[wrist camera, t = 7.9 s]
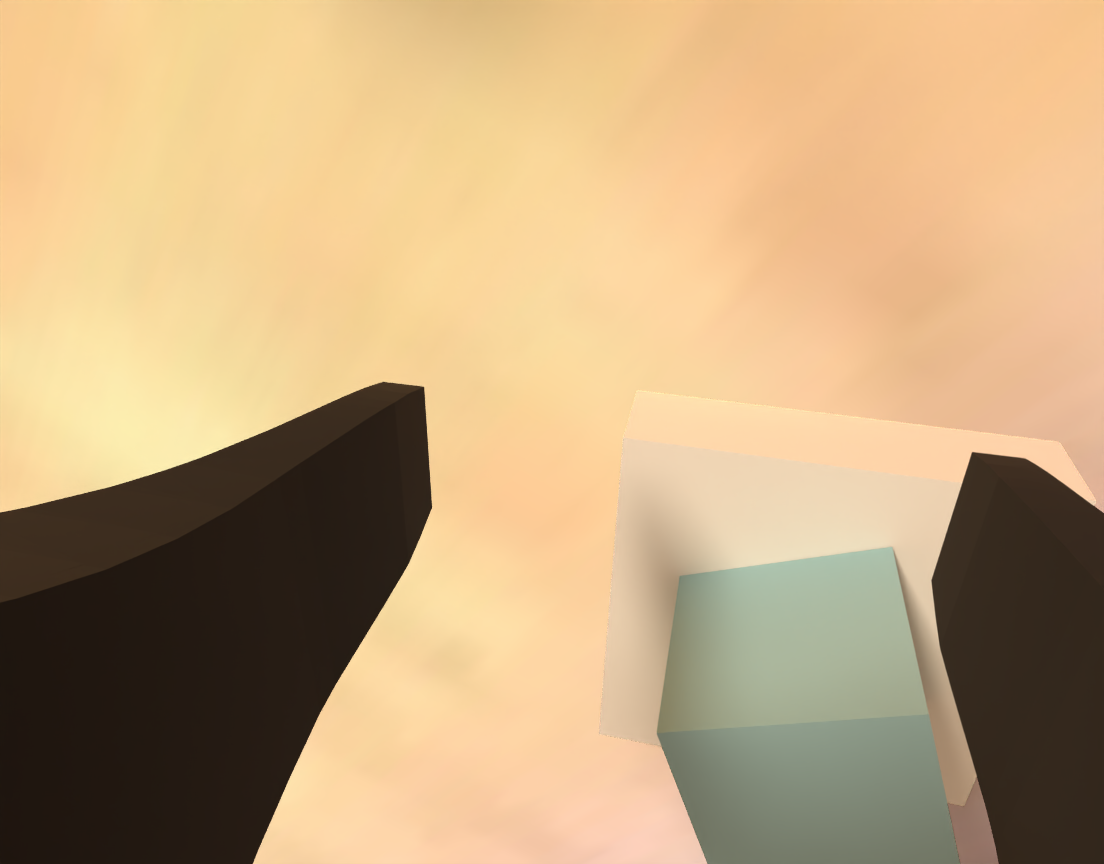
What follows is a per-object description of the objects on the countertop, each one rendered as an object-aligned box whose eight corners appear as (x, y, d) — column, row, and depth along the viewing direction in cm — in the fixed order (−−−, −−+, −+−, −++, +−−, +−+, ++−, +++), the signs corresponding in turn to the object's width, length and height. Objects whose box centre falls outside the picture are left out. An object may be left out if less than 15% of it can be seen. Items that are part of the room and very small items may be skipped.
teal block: (892, 546, 19) (928, 714, 14) (925, 706, 21) (966, 895, 16) (679, 575, 20) (656, 732, 16) (728, 720, 22) (720, 895, 18)
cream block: (1052, 432, 20) (1096, 500, 17) (943, 720, 25) (963, 806, 22) (639, 381, 21) (623, 437, 19) (614, 660, 26) (598, 734, 24)
